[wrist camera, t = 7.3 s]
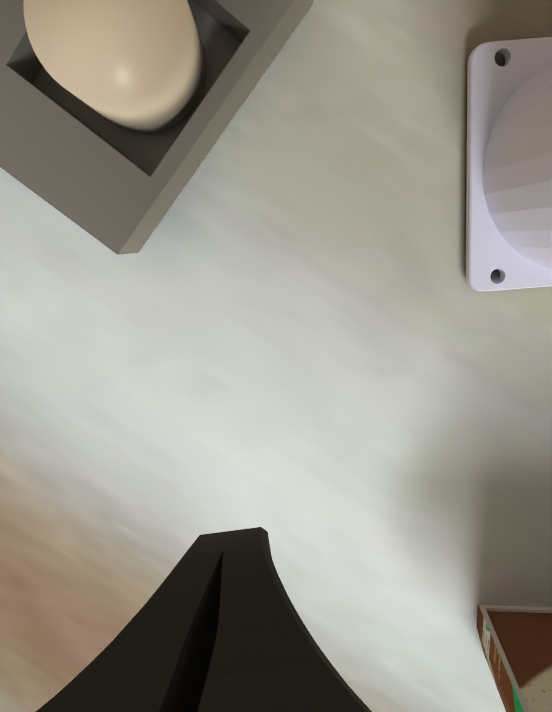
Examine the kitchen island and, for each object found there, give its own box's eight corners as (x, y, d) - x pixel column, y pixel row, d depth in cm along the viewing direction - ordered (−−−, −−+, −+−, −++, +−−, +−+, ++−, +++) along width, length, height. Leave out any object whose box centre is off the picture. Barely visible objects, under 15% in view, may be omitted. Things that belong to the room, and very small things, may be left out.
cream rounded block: (231, 52, 16) (219, -1, 12) (157, 159, 17) (127, 137, 13) (124, -39, 15) (81, -121, 12) (53, 76, 16) (-8, 32, 13)
